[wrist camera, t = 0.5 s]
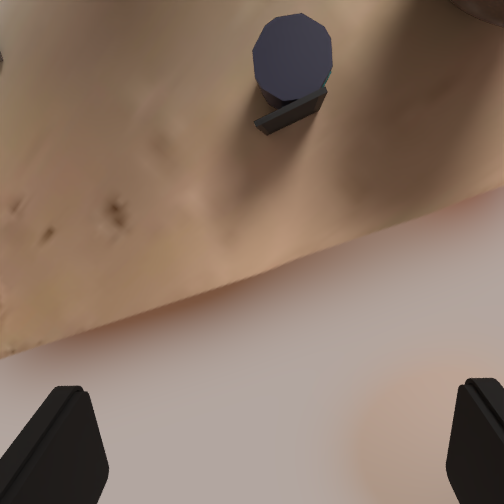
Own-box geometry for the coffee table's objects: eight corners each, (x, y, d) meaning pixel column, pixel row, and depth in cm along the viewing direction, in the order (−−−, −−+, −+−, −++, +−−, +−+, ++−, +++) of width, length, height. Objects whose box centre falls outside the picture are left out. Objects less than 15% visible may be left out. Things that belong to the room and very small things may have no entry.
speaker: (326, 130, 36) (338, 126, 26) (265, 135, 37) (254, 133, 27) (324, 41, 34) (337, -1, 24) (259, 48, 35) (245, 10, 25)
